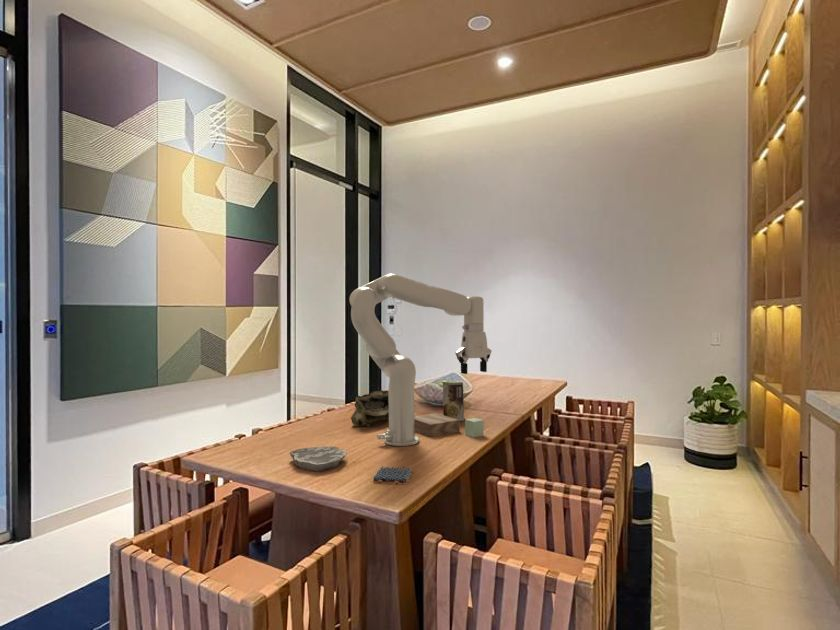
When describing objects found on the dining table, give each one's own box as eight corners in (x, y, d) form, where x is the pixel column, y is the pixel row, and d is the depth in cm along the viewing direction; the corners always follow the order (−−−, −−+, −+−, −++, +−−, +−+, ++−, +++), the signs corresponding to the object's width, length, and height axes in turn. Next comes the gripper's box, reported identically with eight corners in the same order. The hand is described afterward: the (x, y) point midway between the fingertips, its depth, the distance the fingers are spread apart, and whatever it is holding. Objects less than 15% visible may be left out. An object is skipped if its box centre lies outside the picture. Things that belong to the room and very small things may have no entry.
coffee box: (464, 418, 217) (463, 382, 217) (463, 421, 211) (463, 384, 211) (443, 417, 218) (443, 381, 218) (442, 421, 212) (442, 384, 212)
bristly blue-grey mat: (371, 484, 136) (371, 477, 136) (380, 472, 147) (380, 465, 147) (407, 486, 134) (407, 479, 134) (414, 473, 145) (414, 467, 145)
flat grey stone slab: (359, 463, 154) (359, 454, 154) (313, 477, 142) (313, 466, 142) (325, 451, 168) (325, 442, 168) (280, 462, 156) (280, 453, 156)
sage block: (473, 437, 184) (473, 421, 184) (465, 434, 188) (465, 419, 188) (483, 435, 187) (483, 420, 187) (475, 432, 191) (475, 417, 191)
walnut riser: (430, 437, 186) (430, 424, 186) (408, 429, 199) (408, 417, 199) (459, 432, 193) (459, 419, 193) (436, 424, 207) (436, 413, 207)
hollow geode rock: (396, 426, 223) (380, 399, 230) (412, 409, 218) (395, 383, 224) (352, 436, 202) (335, 407, 208) (368, 418, 196) (350, 389, 203)
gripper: (462, 329, 179) (462, 375, 179) (497, 328, 189) (497, 372, 189) (450, 328, 185) (450, 373, 186) (484, 327, 195) (484, 370, 195)
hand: (473, 372), depth 187 cm, fingers open, 9 cm apart
